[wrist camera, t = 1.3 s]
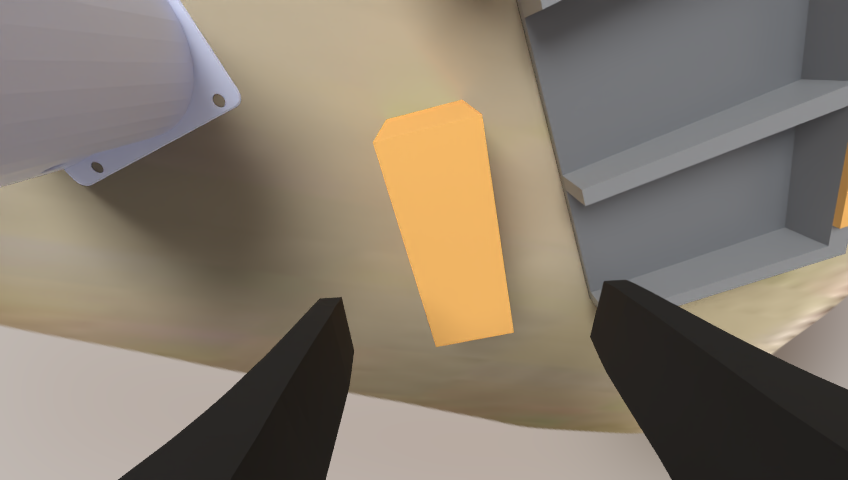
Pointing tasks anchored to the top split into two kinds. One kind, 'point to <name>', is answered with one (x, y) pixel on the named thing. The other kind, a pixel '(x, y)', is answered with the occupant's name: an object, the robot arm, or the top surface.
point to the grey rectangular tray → (696, 136)
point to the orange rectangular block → (448, 219)
